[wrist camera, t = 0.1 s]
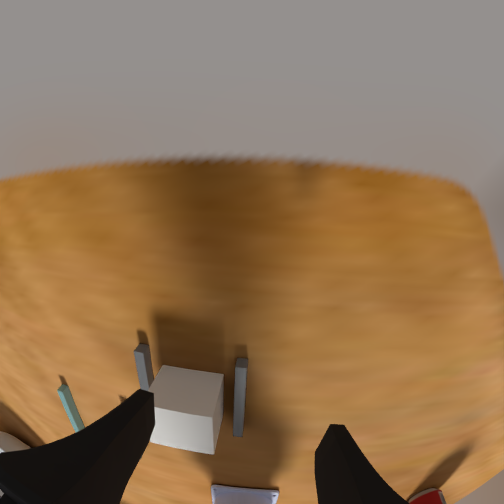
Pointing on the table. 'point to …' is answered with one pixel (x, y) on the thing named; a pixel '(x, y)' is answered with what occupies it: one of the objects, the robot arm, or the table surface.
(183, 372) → the grey cube
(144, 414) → the robot arm
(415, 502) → the beverage can
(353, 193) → the table surface
